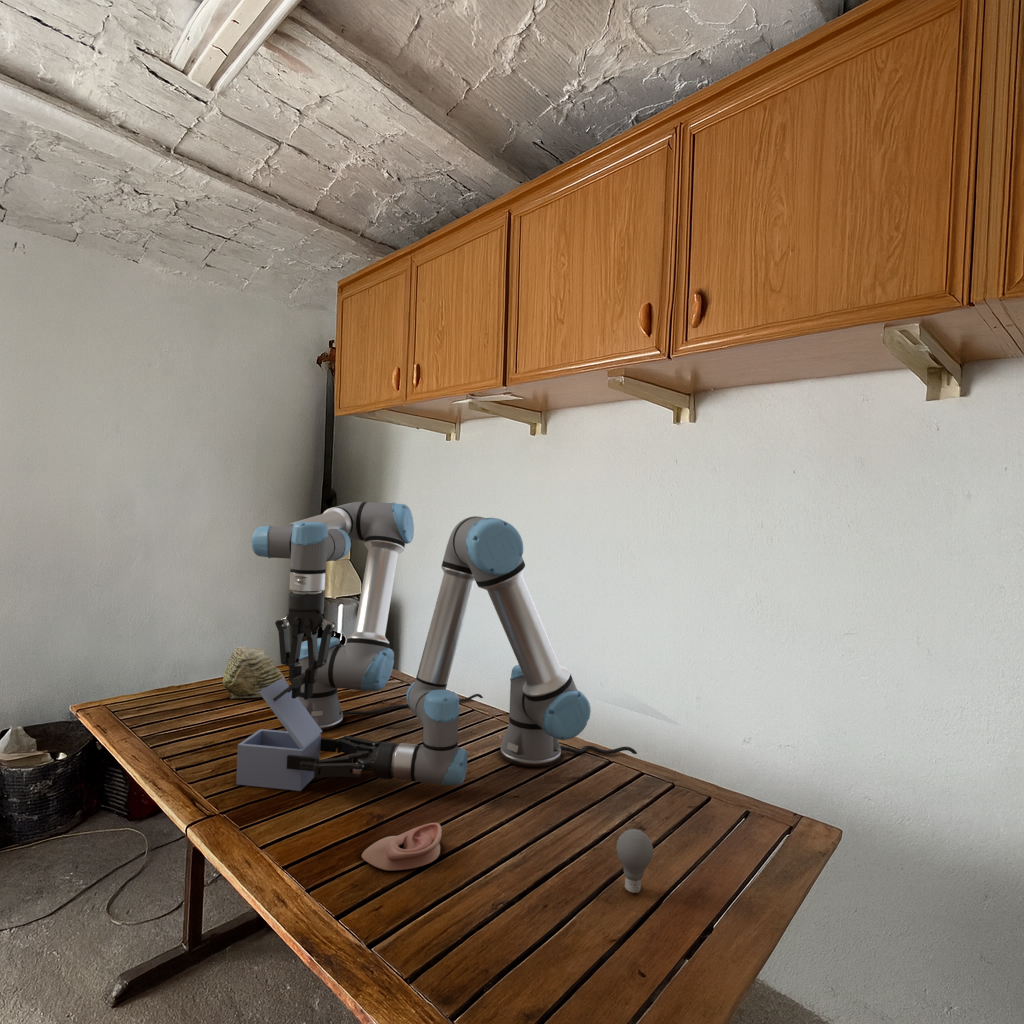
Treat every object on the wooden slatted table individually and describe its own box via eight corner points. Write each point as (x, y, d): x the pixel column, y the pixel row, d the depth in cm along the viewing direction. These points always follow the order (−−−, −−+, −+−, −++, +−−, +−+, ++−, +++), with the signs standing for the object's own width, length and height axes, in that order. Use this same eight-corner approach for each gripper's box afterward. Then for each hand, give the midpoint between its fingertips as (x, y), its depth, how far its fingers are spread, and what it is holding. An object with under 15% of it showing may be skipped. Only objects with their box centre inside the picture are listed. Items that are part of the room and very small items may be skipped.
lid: (258, 692, 137) (287, 669, 136) (280, 679, 146) (307, 658, 145) (300, 749, 136) (330, 727, 135) (319, 733, 145) (347, 712, 145)
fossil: (218, 695, 195) (220, 647, 195) (278, 685, 208) (279, 640, 207) (228, 703, 189) (230, 653, 188) (289, 692, 201) (290, 645, 201)
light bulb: (610, 879, 108) (613, 822, 108) (644, 879, 109) (647, 822, 109) (619, 902, 102) (622, 840, 102) (655, 901, 103) (658, 840, 103)
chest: (236, 784, 138) (237, 744, 137) (259, 766, 147) (260, 728, 147) (300, 791, 136) (302, 750, 136) (319, 772, 146) (321, 734, 145)
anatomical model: (354, 842, 109) (381, 811, 120) (353, 865, 109) (380, 831, 121) (427, 854, 107) (448, 821, 118) (426, 877, 107) (447, 842, 118)
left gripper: (266, 591, 137) (261, 699, 138) (333, 596, 135) (327, 705, 136) (282, 587, 145) (278, 689, 145) (346, 591, 143) (341, 695, 143)
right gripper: (378, 802, 127) (273, 791, 130) (409, 757, 149) (319, 749, 152) (380, 765, 127) (274, 755, 130) (410, 726, 149) (320, 718, 152)
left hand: (302, 696), depth 141 cm, fingers closed on lid, 2 cm apart
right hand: (298, 752), depth 141 cm, fingers closed on chest, 10 cm apart
